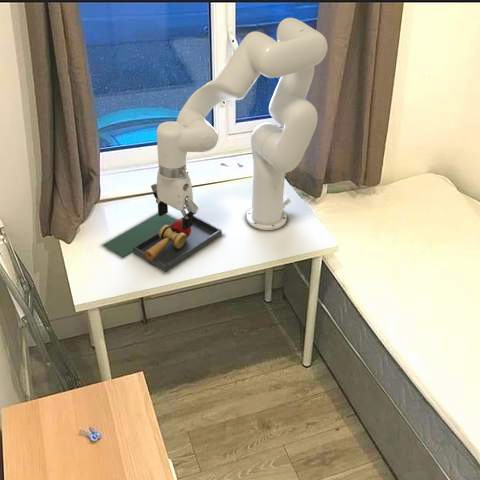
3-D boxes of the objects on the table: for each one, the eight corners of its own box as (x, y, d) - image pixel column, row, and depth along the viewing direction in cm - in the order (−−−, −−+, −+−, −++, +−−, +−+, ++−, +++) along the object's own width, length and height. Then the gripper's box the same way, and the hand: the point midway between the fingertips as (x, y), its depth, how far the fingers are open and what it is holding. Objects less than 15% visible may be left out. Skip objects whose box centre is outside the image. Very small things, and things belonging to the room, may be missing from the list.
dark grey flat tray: (190, 218, 187) (189, 213, 185) (221, 235, 181) (221, 229, 180) (133, 252, 172) (132, 247, 171) (165, 272, 167) (165, 266, 165)
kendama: (163, 269, 166) (199, 235, 178) (158, 250, 162) (195, 217, 174) (141, 263, 169) (178, 230, 182) (136, 245, 166) (174, 212, 178)
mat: (161, 212, 189) (161, 211, 188) (180, 222, 185) (180, 222, 185) (103, 245, 174) (103, 244, 174) (123, 257, 171) (122, 256, 170)
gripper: (206, 174, 159) (206, 227, 170) (160, 152, 166) (163, 204, 177) (186, 185, 154) (187, 239, 165) (140, 161, 162) (144, 214, 172)
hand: (175, 220), depth 171 cm, fingers open, 9 cm apart
